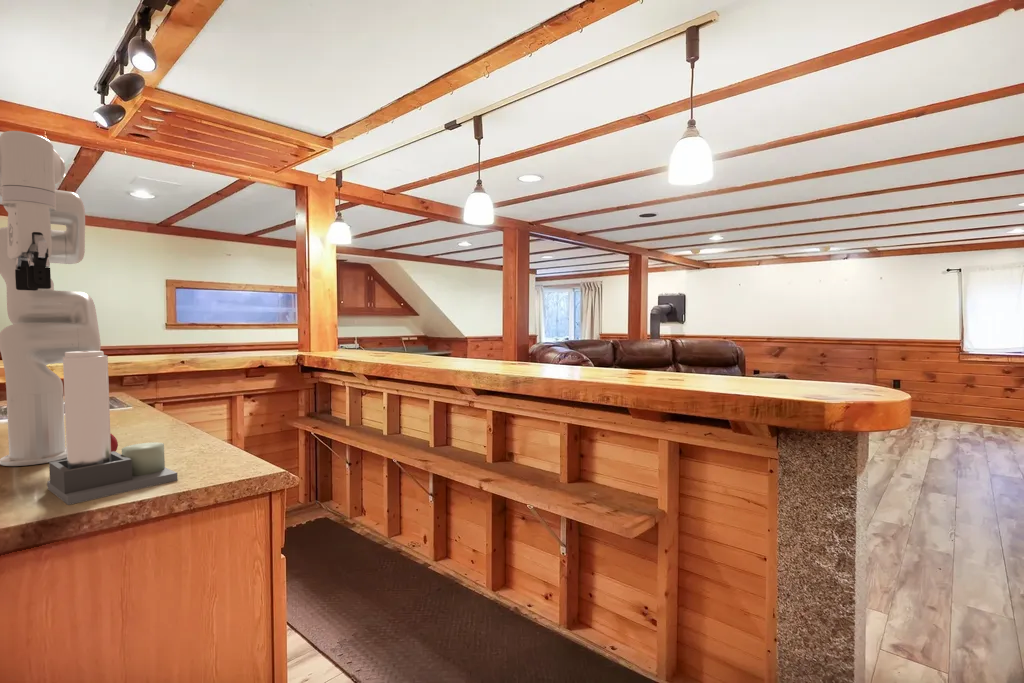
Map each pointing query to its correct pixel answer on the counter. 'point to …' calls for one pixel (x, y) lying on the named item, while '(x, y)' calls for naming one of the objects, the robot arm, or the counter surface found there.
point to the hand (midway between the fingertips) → (33, 289)
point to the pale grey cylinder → (86, 408)
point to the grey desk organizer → (111, 474)
